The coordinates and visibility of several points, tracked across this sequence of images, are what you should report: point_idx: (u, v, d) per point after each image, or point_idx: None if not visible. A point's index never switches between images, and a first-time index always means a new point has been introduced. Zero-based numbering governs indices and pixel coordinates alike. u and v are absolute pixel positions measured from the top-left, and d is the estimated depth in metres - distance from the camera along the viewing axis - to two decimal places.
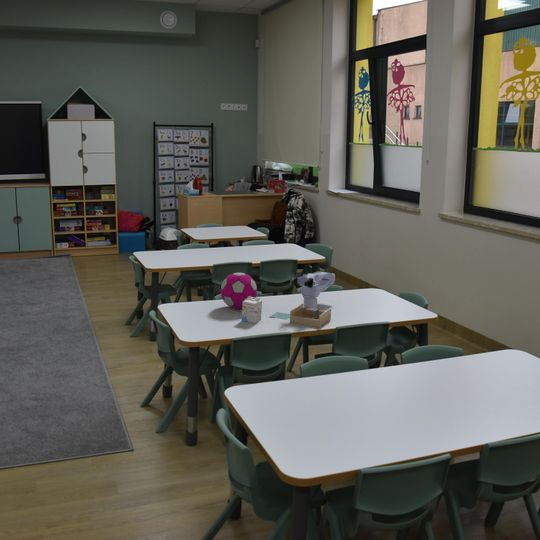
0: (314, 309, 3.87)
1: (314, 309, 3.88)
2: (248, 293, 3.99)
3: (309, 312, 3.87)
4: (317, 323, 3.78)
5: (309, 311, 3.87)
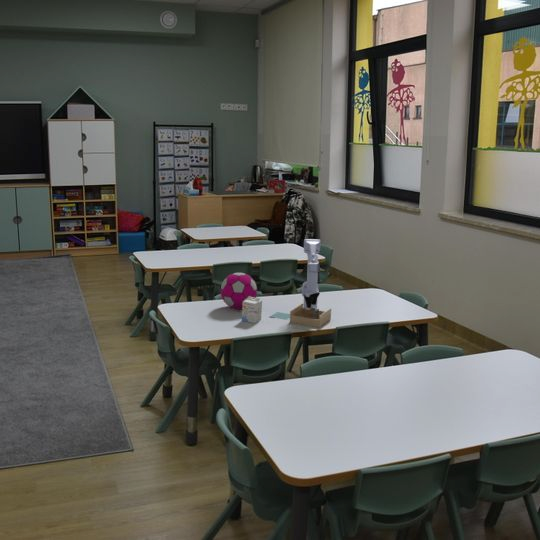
0: (314, 309, 3.87)
1: (314, 309, 3.88)
2: (248, 293, 3.99)
3: (309, 312, 3.87)
4: (317, 323, 3.78)
5: (309, 311, 3.87)
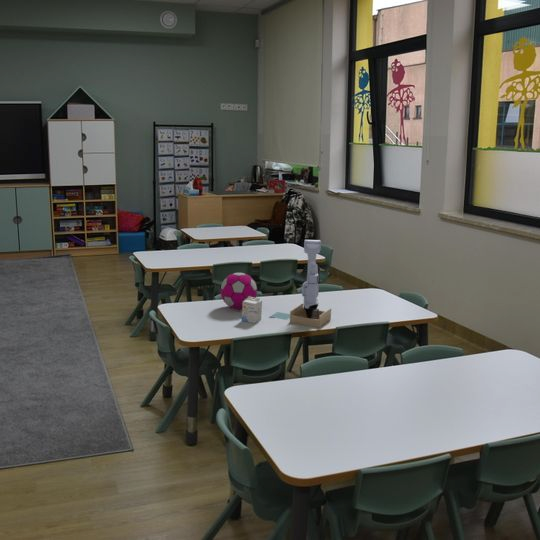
0: (314, 309, 3.87)
1: (314, 309, 3.88)
2: (248, 293, 3.99)
3: None
4: (317, 323, 3.78)
5: None
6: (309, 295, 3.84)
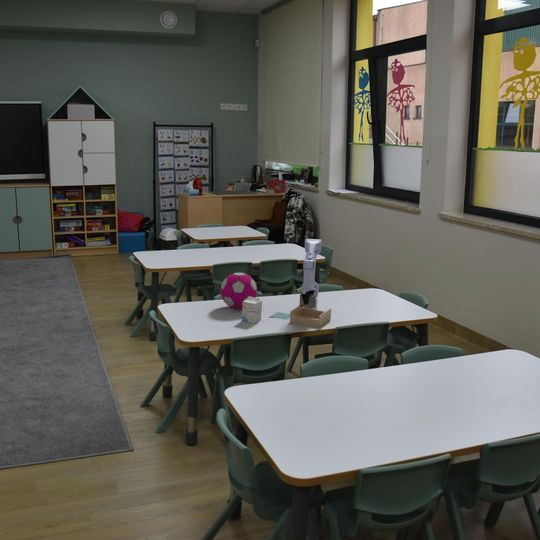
0: (311, 295, 3.87)
1: (311, 295, 3.87)
2: (248, 293, 3.99)
3: None
4: (317, 323, 3.78)
5: None
6: (306, 281, 3.83)
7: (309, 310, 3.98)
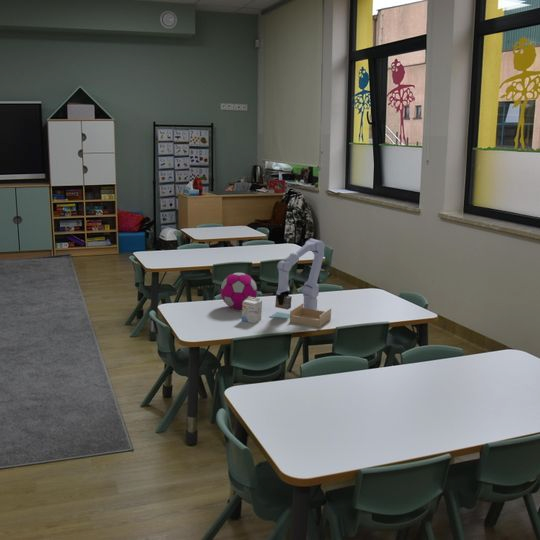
0: (287, 296, 3.93)
1: (287, 296, 3.94)
2: (248, 293, 3.99)
3: None
4: (317, 323, 3.78)
5: None
6: (280, 282, 3.90)
7: (309, 310, 3.98)
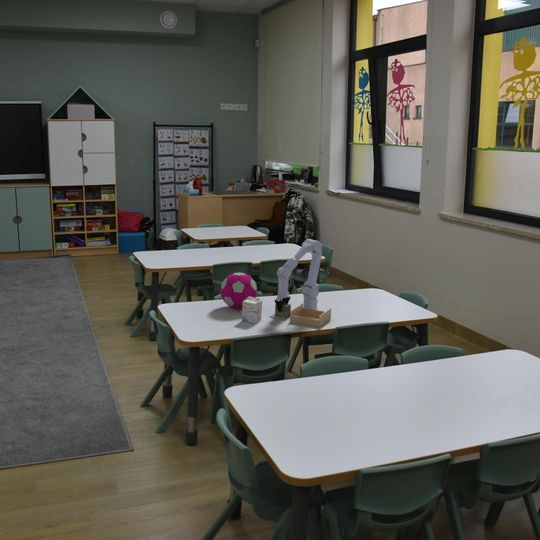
0: (286, 304, 3.94)
1: (286, 304, 3.95)
2: (248, 293, 3.99)
3: None
4: (317, 323, 3.78)
5: None
6: (280, 288, 3.91)
7: (309, 310, 3.98)
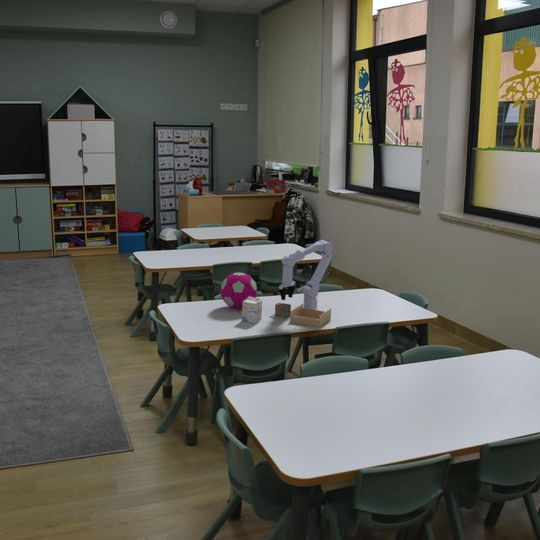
0: (286, 304, 3.94)
1: (286, 304, 3.95)
2: (248, 293, 3.99)
3: (281, 307, 3.94)
4: (317, 323, 3.78)
5: (281, 306, 3.94)
6: (284, 276, 3.95)
7: (309, 310, 3.98)
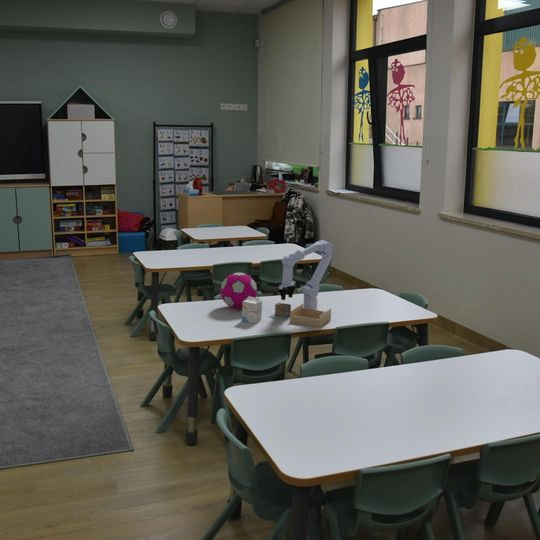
0: (286, 304, 3.94)
1: (286, 304, 3.95)
2: (248, 293, 3.99)
3: (281, 307, 3.94)
4: (317, 323, 3.78)
5: (281, 306, 3.94)
6: (284, 276, 3.95)
7: (309, 310, 3.98)
